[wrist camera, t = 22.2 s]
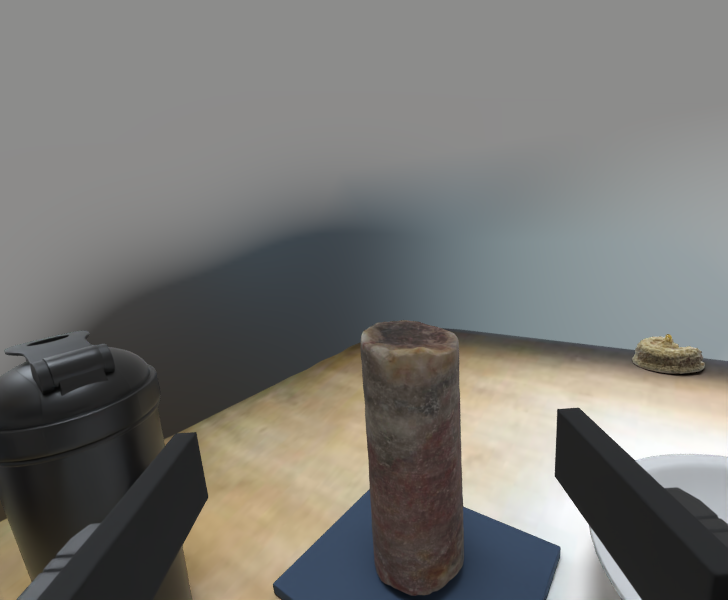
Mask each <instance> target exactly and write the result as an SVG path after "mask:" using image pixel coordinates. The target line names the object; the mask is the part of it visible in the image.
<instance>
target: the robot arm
mask: <svg viewBox="0 0 728 600" xmlns="http://www.w3.org/2000/svg"><path fill="white" fill-rule="evenodd" d="M555 477H556V479H557V480H558V481H559V483H560V484H561V486H562V487H563V488H564V490H565V491H566V493H567V494H568V496H569V497H570V498H571V500H572V501H573V503H574V504H575V506H576V507H577V508H578V510H579V511H580V513H581V514H582V515H583V517H584V518H585V520H586V521H587V523H588V524H589V525H590V527H591V528H592V530H593V531H594V533H595V534H596V535H597V537H598V538H599V540H600V541H601V542H602V544H603V545H604V547H605V548H606V550H607V551H608V552H609V554H610V555H611V557H612V558H613V560H614V561H615V562H616V564H617V565H618V567H619V568H620V570H621V571H622V572H623V574H624V575H625V577H626V578H627V579H628V581H629V582H630V584H631V585H632V587H633V588H634V589H635V591H636V592H637V594H638V595H639V597H640V598H641V599H642V600H728V524H727V523H726V522H725V521H724V520H722V519H721V518H720V519H719V518H718V515H717V514H716V513H714V512H713V511H712V510H711V509H710V508H709V507H708V506H706V505H705V504H704V503H703V502H702V501H701V500H699V499H698V498H696V497H694V496H692V495H691V494H689V493H687V492H685V491H683V490H682V489H680V488H678V487H674V488H664V487H663V486H662V485H660V484H659V483H658V482H657V481H656V480H655V479H654V478H653V477H652V476H651V475H650V474H649V473H648V472H647V471H646V470H645V469H643V468H642V467H641V466H640V465H639V464H638V463H637V462H636V461H635V460H634V459H633V458H632V457H631V456H630V455H629V454H628V453H626V452H625V451H624V450H623V449H622V448H621V447H620V446H619V445H618V444H617V443H616V442H615V441H614V440H613V439H612V438H611V437H609V436H608V435H607V434H606V433H605V432H604V431H603V430H602V429H601V428H600V427H599V426H598V425H597V424H596V423H595V422H594V421H592V420H591V419H590V418H589V417H588V416H587V415H586V414H585V413H584V412H583V411H582V410H581V409H580V408H568V409H557V434H556V458H555ZM207 499H208V493H207V487H206V482H205V477H204V471H203V466H202V461H201V455H200V450H199V445H198V439H197V434H196V432H194V433H178V434H175V435H174V436H173V437H172V439H171V440H170V441H169V442H168V443H167V444H166V446H165V447H164V448H163V449H162V450H161V452H160V453H159V454H158V455H157V456H156V458H155V459H154V460H153V461H152V462H151V464H150V465H149V466H148V467H147V468H146V470H145V471H144V472H143V473H142V474H141V476H140V477H139V478H138V479H137V480H136V482H135V483H134V484H133V485H132V486H131V488H130V489H129V490H128V491H127V492H126V493H125V495H124V496H123V497H122V498H121V499H120V501H119V502H118V503H117V504H116V505H115V507H114V508H113V509H112V510H111V511H110V513H109V514H108V515H107V516H106V517H105V519H104V520H103V521H102V522H101V523H94V524H89V525H88V526H87V527H85V528H84V529H83V530H81V531H80V532H79V533H77V534H76V535H75V536H73V537H72V538H71V539H70V540H69V541H68V542H67V543H66V544H65V546H64V547H63V548H62V549H61V550H60V551H59V552H58V553H57V555H56V557H55V559H52V560H51V561H50V562H49V564H48V565H47V566H46V567H45V568H44V569H43V572H42V573H40V574H39V575H38V576H37V577H36V578H35V579H34V580H33V582H32V583H31V584H30V585H29V586H28V587H27V588H26V589H25V591H24V592H23V593H22V594H21V595H20V596H19V597H18V598H17V600H153V599H154V597H155V595H156V593H157V591H158V589H159V587H160V586H161V584H162V582H163V580H164V578H165V576H166V575H167V573H168V571H169V569H170V567H171V565H172V563H173V562H174V560H175V558H176V556H177V554H178V552H179V550H180V549H181V547H182V545H183V543H184V541H185V539H186V538H187V536H188V534H189V532H190V530H191V528H192V526H193V525H194V523H195V521H196V519H197V517H198V515H199V513H200V512H201V510H202V508H203V506H204V504H205V502H206V501H207Z"/></svg>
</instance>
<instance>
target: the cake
mask: <svg viewBox="0 0 728 600" xmlns="http://www.w3.org/2000/svg"><path fill="white" fill-rule="evenodd" d="M667 335H668V336H667ZM667 335H666V337H665V338H663V337H661V336H659V337H650V338H645V339H644V340H641V341H640V342H639V344H638V345H637V348H636V349H635V353H636V354H635V356H634V357H633V358H632V360H633V362H634V364H636V365H638V366H639V367H641V368H644V369H648V370H652V371H655V372H662V373H675V374H676V373H679V374H682V373H693V372H696V371H697V372H699V371H701V370H702V369H704V367H705V366H704V365H705V364H704V363H703V362H702V360H703V357H702V354H701V353H702V352H701V351H700V350H699V349H698V348H693V347H691V346H688V347H685V348H684V347H680V348H679V346H678V344H676V343H674V342H673V339H672V337H671V336H670V335H669V334H667Z"/></svg>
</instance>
